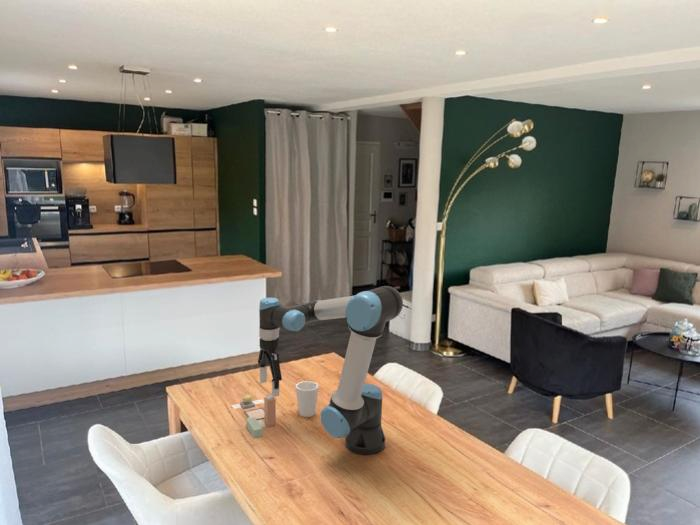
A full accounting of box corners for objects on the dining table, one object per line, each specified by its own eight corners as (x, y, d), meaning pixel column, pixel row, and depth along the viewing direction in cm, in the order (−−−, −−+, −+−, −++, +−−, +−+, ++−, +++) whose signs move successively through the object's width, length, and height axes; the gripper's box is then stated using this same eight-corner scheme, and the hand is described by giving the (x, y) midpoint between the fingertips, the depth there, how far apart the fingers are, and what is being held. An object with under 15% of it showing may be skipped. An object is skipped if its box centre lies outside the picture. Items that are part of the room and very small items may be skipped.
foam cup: (307, 422, 211) (307, 392, 209) (290, 415, 217) (290, 386, 214) (322, 414, 219) (323, 385, 216) (306, 407, 224) (306, 379, 222)
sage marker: (262, 436, 198) (262, 428, 198) (254, 438, 197) (254, 430, 196) (253, 423, 207) (253, 415, 206) (245, 425, 205) (245, 417, 205)
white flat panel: (286, 428, 206) (286, 424, 205) (252, 437, 199) (252, 432, 199) (262, 400, 230) (262, 396, 229) (231, 407, 223) (231, 402, 223)
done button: (252, 400, 222) (252, 396, 221) (244, 402, 220) (244, 398, 220) (250, 397, 225) (249, 393, 224) (241, 399, 223) (241, 394, 223)
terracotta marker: (275, 425, 207) (275, 396, 205) (267, 427, 205) (267, 398, 203) (272, 421, 210) (272, 393, 208) (264, 423, 208) (264, 394, 206)
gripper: (290, 346, 192) (290, 399, 196) (267, 327, 213) (267, 375, 217) (271, 349, 188) (271, 403, 192) (249, 329, 210) (250, 378, 214)
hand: (269, 389), depth 205 cm, fingers open, 13 cm apart
